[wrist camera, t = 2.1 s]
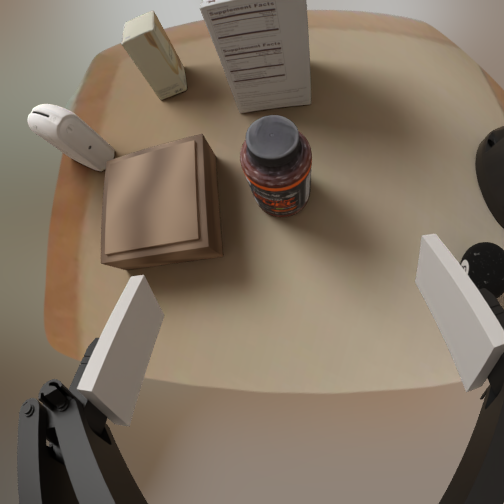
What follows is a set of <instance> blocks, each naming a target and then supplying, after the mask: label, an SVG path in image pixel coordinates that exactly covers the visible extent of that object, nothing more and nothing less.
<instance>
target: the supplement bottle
mask: <svg viewBox="0 0 504 504" xmlns="http://www.w3.org/2000/svg"><path fill="white" fill-rule="evenodd" d="M240 161H241V166H242V169H243V171H244V174H245V176H246V179H247V181H248V183H249V186H250V188H251V190H252V193H253V195H254V198H255V200H256V202H257V203H258V205H259V206H260V207H261V209H262V210H264V211H265V212H266V213H268V214H270V215H273V216H277V217H287V216H291V215H293V214H295V213H297V212H299V211H300V210H301V209H302V208H303V207H304V206H305V205H306V203H307V201H308V198H309V195H310V184H311V165H312V153H311V148H310V145H309V143H308V141H307V139H306V138H305V136H304V135H303V134H302V133H300V132H299V131H298V129H297V127H296V125H295V124H294V123H293V122H292V121H291V120H289V119H287V118H285V117H283V116H279V115H270V116H265V117H262V118H260V119H258V120H256V121H255V122H254V123H252V124H251V126H250V127H249V128H248V130H247V133H246V140H245V141H244V143H243V145H242V148H241V152H240Z"/></svg>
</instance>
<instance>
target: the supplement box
mask: <svg viewBox="0 0 504 504" xmlns="http://www.w3.org/2000/svg"><path fill="white" fill-rule="evenodd" d="M200 10H201V13H202V16H203V18H204V21H205V23H206V26H207V28H208V31H209V33H210V36H211V38H212V41H213V43H214V46H215V48H216V51H217V53H218V56H219V58H220V61H221V64H222V66H223V69H224V72H225V75H226V77H227V80H228V83H229V85H230V88H231V91H232V94H233V96H234V99H235V102H236V105H237V107H238V110H239V113H246V112H252V111H258V110H265V109H273V108H280V107H289V106H298V105H310V104H311V76H310V53H309V34H308V18H307V4H306V0H202V1H201V6H200Z"/></svg>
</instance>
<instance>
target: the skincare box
mask: <svg viewBox="0 0 504 504" xmlns="http://www.w3.org/2000/svg"><path fill="white" fill-rule="evenodd" d="M121 44H122V46H123V47H124V49H125V50H126V51H127V53H128V54H129V56H130V57H131V59H132V60H133V61H134V63H135V64H136V66H137V67H138V69H139V70H140V71H141V73H142V74H143V76H144V77H145V79H146V80H147V82H148V83H149V84H150V86H151V87H152V89H153V90H154V92H155V93H156V95H157V96H158V97H159V99H160V100H162V99H165V98H168V97H170V96H173V95H175V94H178V93H180V92H183V91H185V90H187V84H186V76H185V71H184V66H183V64H182V62H181V61H180V59H179V57H178V55H177V53H176V51H175V49H174V48H173V46H172V44H171V42H170V40H169V38H168V36H167V34H166V33H165V31H164V29H163V27H162V25H161V23H160V22H159V20H158V18H157V16H156V14H155V13H154V11H153V10H152V11H150V12H148V13H145V14H143V15H141V16H139V17H137V18H134V19H132V20H130V21H128V22H126V23H125V25H124V30H123V37H122V43H121Z"/></svg>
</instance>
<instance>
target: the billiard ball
mask: <svg viewBox="0 0 504 504" xmlns="http://www.w3.org/2000/svg"><path fill="white" fill-rule="evenodd" d="M460 265H461V267H462V268H463V269H464V271H465V272H466V273H467V275H468V276H469V278H470V279H471V280H472V282H473V283H474V285H475V286H476V288H477V289H478V290H479V289H482V288H486V289H487V290H488V291H489V292H491V293H492V294H493V295H494V296H495V297H496V298H498V297H499V296H501V295H502V294H503V293H504V250H503V249H502V248H501V247H499V246H498V245H496V244H493V243H489V242H482V243H478V244H475V245H473V246H472V247H470V248H469V249H468V250H467V251H466V253H465V254H464V256H463V258H462V260H461V263H460Z"/></svg>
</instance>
